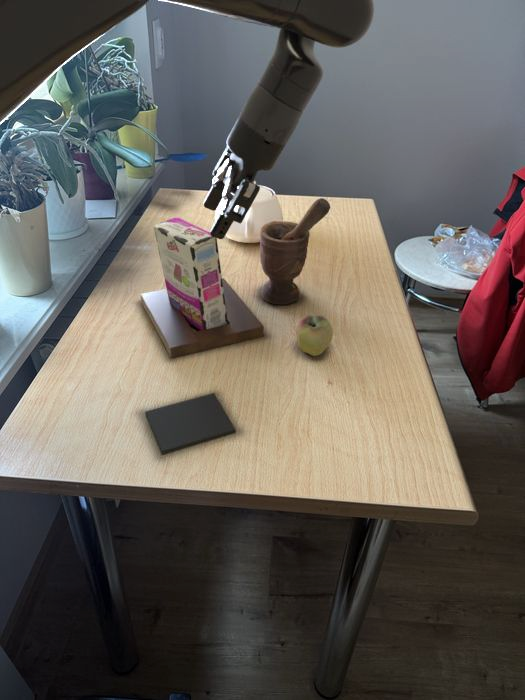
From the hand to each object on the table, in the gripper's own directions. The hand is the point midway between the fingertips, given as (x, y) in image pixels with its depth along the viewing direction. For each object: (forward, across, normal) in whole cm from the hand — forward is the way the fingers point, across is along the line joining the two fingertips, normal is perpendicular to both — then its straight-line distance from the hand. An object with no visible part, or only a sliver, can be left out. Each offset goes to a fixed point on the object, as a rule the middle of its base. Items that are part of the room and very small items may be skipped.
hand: (212, 221), depth 82 cm
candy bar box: (+17, +2, +6) cm, 18 cm away
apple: (+8, +13, +20) cm, 26 cm away
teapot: (+14, -33, +22) cm, 42 cm away
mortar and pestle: (+10, -3, +22) cm, 24 cm away
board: (+17, +2, +6) cm, 18 cm away
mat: (+16, +27, +1) cm, 32 cm away
